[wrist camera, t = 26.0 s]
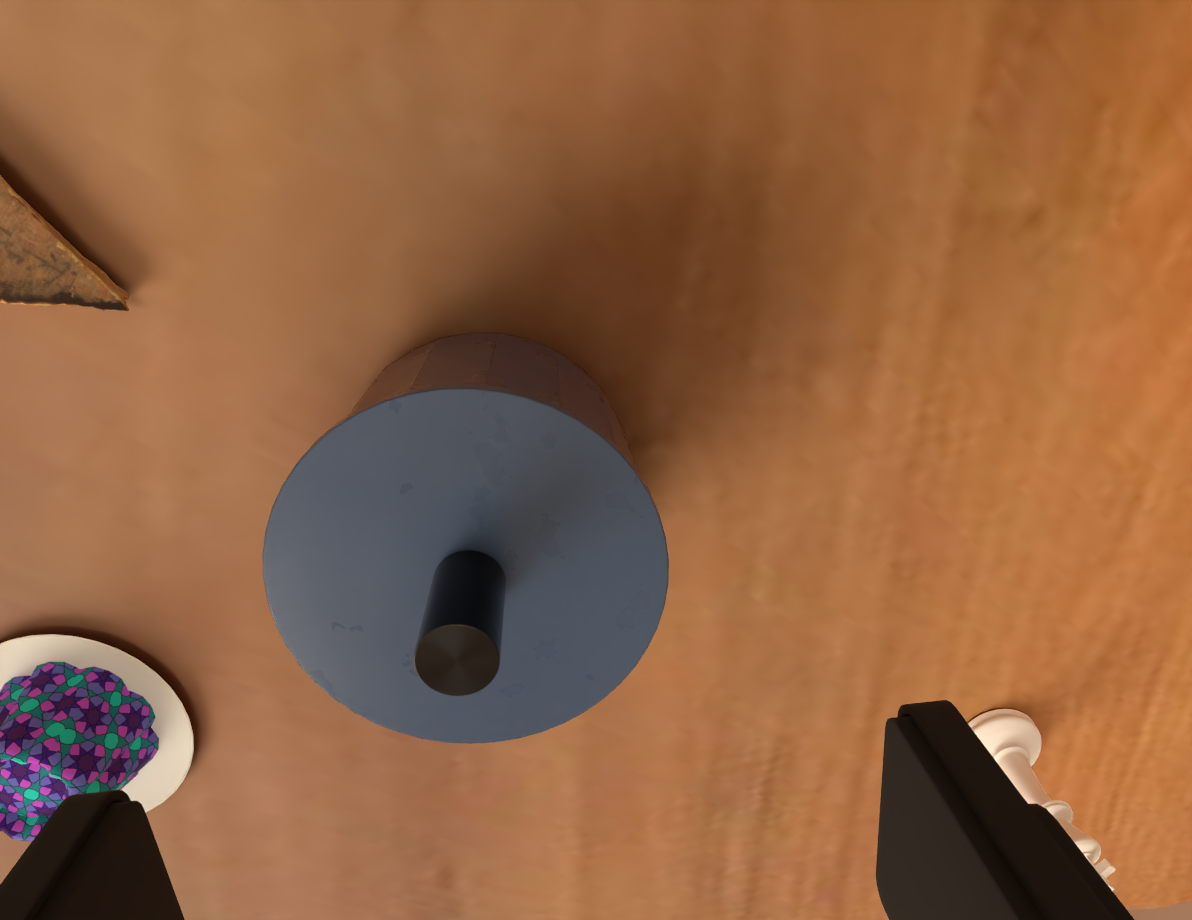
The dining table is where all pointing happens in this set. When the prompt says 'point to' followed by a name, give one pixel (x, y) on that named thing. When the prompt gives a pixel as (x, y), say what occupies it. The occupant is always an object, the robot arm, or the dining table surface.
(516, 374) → the tin
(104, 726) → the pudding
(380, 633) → the lid
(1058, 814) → the chess piece
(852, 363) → the dining table surface
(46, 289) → the shard
